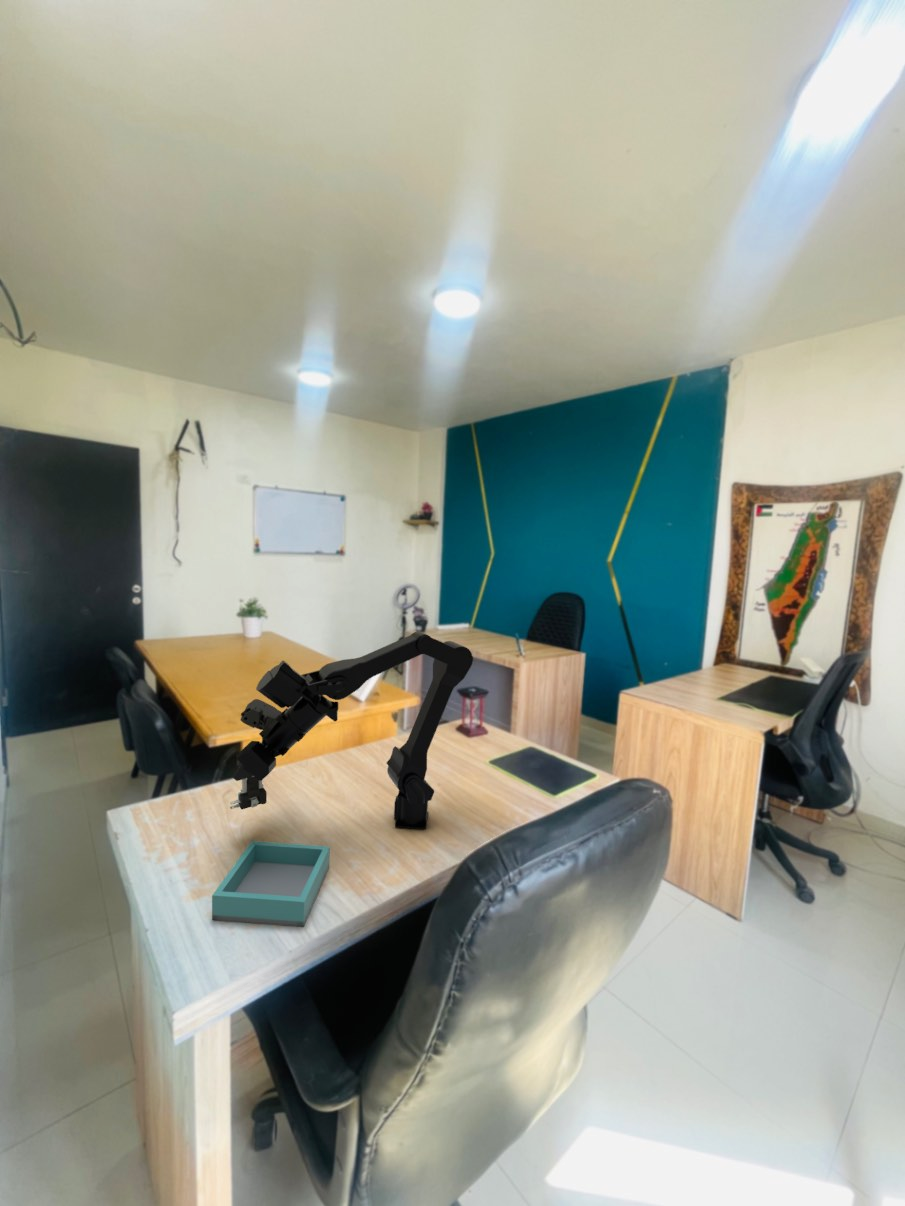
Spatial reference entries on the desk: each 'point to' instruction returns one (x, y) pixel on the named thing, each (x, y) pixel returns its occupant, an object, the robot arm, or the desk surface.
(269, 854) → the tray
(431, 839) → the desk surface
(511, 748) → the desk surface
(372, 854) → the desk surface
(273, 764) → the robot arm
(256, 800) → the push button
